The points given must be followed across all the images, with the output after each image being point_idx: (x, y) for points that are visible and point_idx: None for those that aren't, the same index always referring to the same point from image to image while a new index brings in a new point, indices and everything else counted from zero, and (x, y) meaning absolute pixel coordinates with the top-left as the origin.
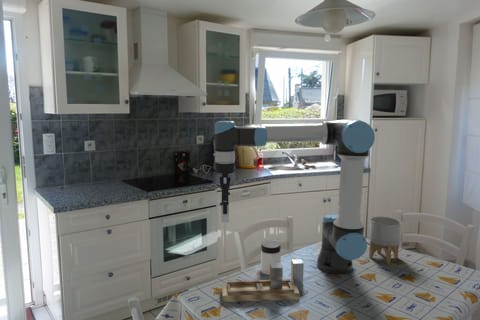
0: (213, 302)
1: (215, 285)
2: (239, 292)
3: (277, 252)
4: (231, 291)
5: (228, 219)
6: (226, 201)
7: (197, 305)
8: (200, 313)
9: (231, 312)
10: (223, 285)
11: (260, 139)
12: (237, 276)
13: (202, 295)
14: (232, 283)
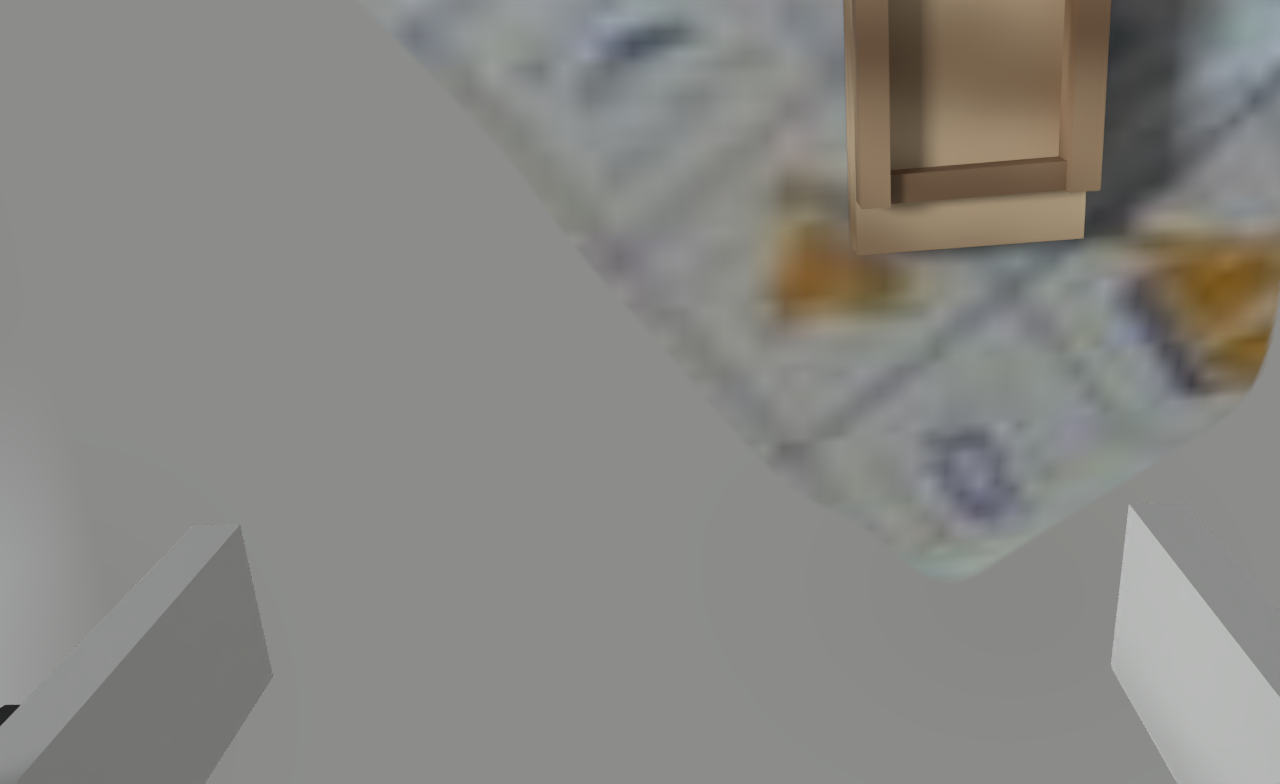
0: (1057, 304)
1: (732, 309)
2: (1103, 63)
3: None
4: (1100, 153)
5: (1218, 547)
6: (100, 764)
7: (1093, 434)
8: (1228, 398)
9: (1258, 129)
10: (870, 239)
11: None
12: (526, 91)
13: (922, 410)
14: (887, 148)
